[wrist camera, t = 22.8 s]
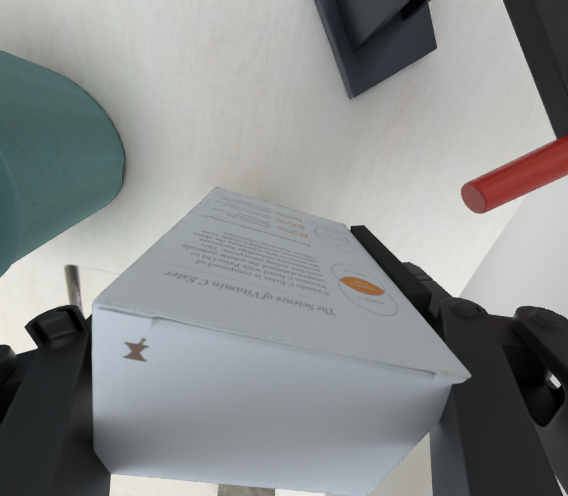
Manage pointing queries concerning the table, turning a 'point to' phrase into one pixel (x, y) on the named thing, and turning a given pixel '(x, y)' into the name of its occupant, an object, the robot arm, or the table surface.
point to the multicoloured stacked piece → (244, 490)
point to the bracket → (376, 38)
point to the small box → (262, 356)
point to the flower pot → (50, 157)
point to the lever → (556, 99)
